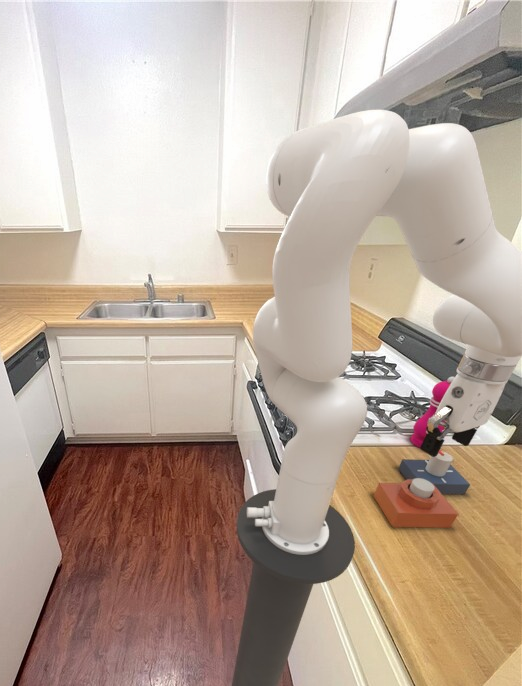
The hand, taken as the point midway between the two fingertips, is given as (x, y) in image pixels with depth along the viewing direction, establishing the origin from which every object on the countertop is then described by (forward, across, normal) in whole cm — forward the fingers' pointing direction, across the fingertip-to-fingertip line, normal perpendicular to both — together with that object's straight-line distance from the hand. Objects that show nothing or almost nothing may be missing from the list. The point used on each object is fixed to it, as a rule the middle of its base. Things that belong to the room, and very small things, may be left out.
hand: (443, 447), depth 70 cm
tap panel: (+14, +8, +3) cm, 17 cm away
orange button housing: (+14, -5, -2) cm, 15 cm away
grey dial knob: (+11, +8, +3) cm, 14 cm away
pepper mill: (+14, +21, +15) cm, 29 cm away
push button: (+9, -5, -2) cm, 10 cm away
